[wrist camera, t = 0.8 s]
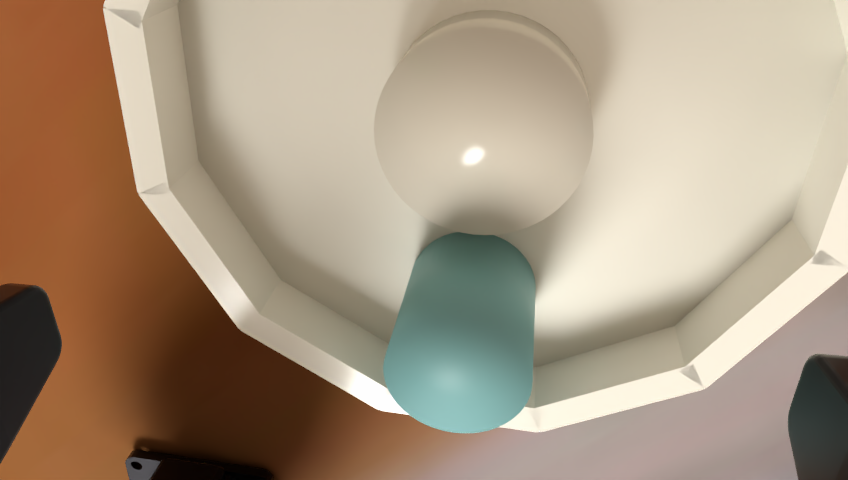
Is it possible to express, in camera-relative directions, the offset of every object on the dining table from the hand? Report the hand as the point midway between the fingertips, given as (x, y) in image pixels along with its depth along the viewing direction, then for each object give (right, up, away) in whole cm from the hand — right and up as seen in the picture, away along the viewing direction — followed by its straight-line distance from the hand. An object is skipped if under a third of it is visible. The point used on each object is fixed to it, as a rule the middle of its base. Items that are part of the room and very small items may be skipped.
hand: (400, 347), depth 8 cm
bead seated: (+2, 0, +14) cm, 14 cm away
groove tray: (+2, +5, +12) cm, 14 cm away
